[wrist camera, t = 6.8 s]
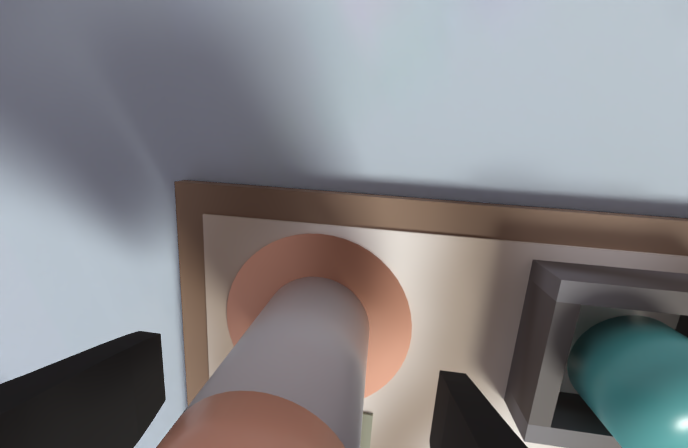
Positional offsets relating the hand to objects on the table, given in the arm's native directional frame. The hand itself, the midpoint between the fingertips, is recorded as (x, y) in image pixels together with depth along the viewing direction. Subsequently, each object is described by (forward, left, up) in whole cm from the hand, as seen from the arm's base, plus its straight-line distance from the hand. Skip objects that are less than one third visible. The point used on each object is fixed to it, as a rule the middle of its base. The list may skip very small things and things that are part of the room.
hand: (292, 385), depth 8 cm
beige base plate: (+4, -2, -4) cm, 6 cm away
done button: (+9, 0, -2) cm, 9 cm away
